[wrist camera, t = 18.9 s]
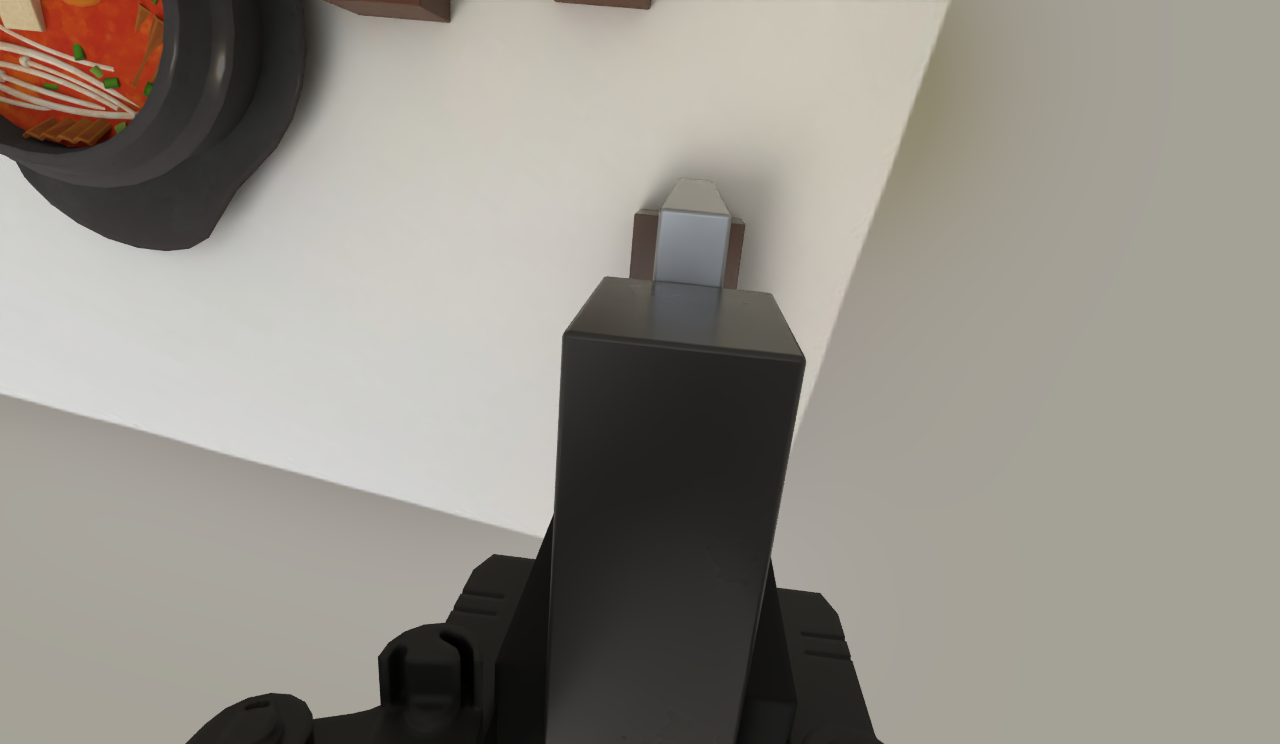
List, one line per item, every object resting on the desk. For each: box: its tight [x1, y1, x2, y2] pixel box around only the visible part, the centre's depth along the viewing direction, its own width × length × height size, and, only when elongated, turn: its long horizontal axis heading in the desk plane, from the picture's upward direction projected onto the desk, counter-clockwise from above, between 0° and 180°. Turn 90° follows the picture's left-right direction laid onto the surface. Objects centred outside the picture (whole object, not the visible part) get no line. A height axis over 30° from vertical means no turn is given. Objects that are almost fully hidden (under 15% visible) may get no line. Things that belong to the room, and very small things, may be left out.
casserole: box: [0, 0, 306, 251], centre depth 31 cm, size 25×19×8 cm
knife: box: [543, 178, 806, 744], centre depth 14 cm, size 2×14×13 cm, turn 175°
